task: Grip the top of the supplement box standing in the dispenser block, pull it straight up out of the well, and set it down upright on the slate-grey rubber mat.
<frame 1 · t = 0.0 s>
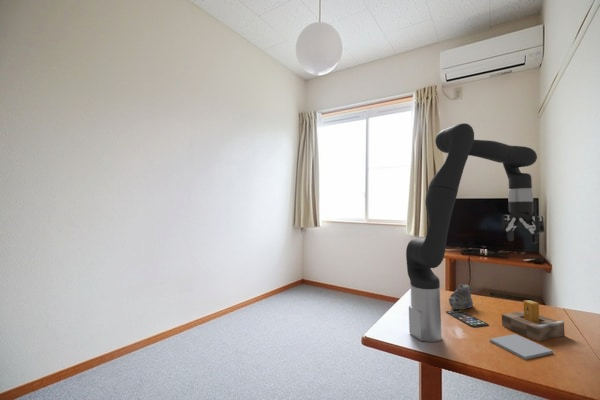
hand: (522, 242, 107), 29 cm above the table, tool pointing down, fingers open, 8 cm apart
mat: (519, 347, 86), on the table
mineral rock: (459, 307, 119), on the table
smartphone: (466, 319, 108), on the table
supplement box: (531, 330, 96), resting in dispenser
dispenser: (531, 330, 96), on the table
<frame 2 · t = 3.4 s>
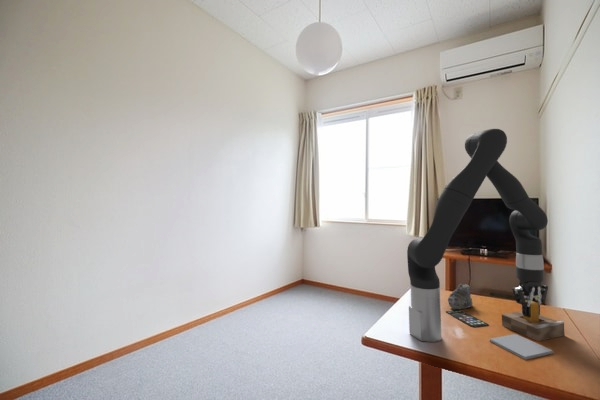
hand: (531, 315, 96), 5 cm above the table, tool pointing down, fingers closed on supplement box, 3 cm apart
supplement box: (531, 330, 96), resting in dispenser, touching gripper
everything else where it was.
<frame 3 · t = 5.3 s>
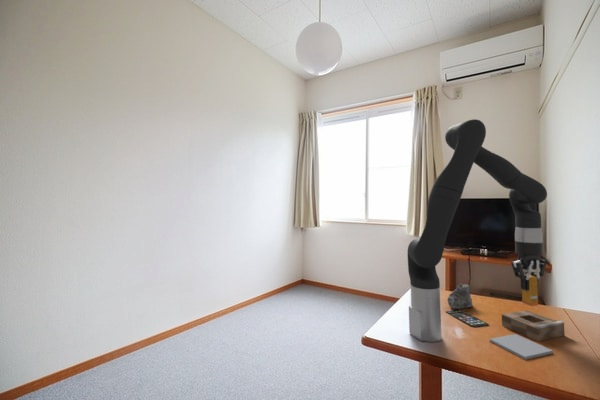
hand: (529, 289, 97), 14 cm above the table, tool pointing down, fingers closed on supplement box, 3 cm apart
supplement box: (530, 304, 97), point 9 cm above the table, touching gripper
everything else where it was.
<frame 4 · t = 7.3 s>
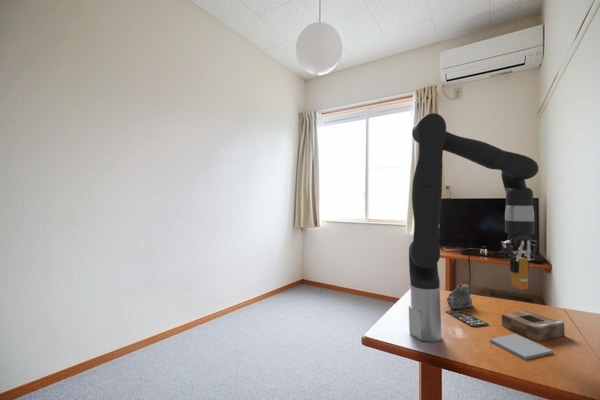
hand: (519, 271, 90), 22 cm above the table, tool pointing down, fingers closed on supplement box, 3 cm apart
supplement box: (520, 288, 90), point 17 cm above the table, touching gripper
everything else where it was.
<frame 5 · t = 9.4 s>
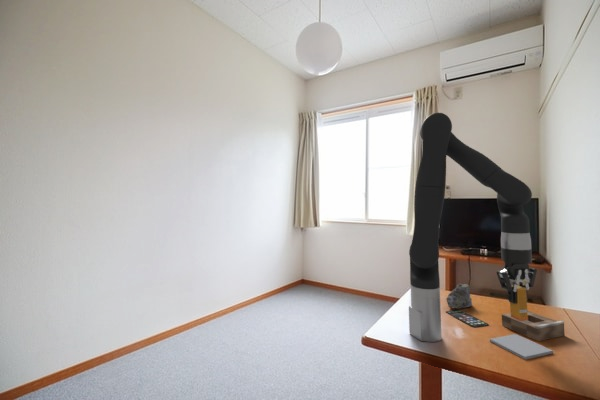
hand: (518, 301, 86), 14 cm above the table, tool pointing down, fingers closed on supplement box, 3 cm apart
supplement box: (519, 319, 86), point 9 cm above the table, touching gripper
everything else where it was.
when the fingers open (8 cm above the table, at t = 11.3 s): supplement box drops 2 cm, resting on mat.
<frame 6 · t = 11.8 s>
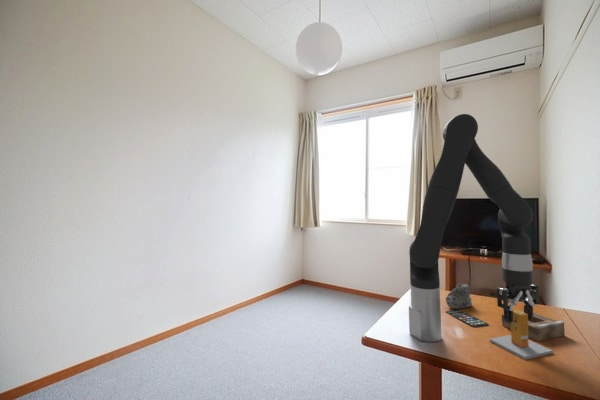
hand: (518, 319, 86), 8 cm above the table, tool pointing down, fingers open, 7 cm apart
supplement box: (520, 345, 86), point 1 cm above the table, touching mat
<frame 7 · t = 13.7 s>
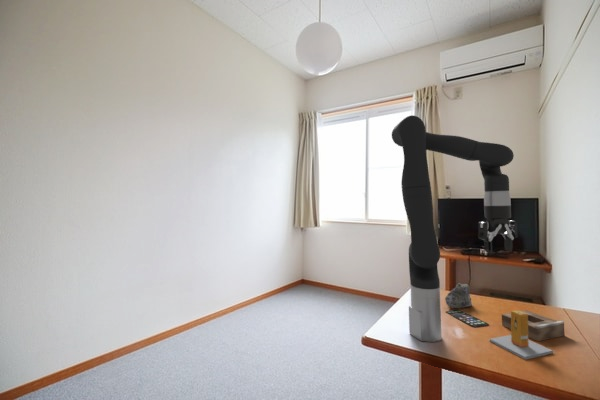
hand: (498, 251, 95), 28 cm above the table, tool pointing down, fingers open, 8 cm apart
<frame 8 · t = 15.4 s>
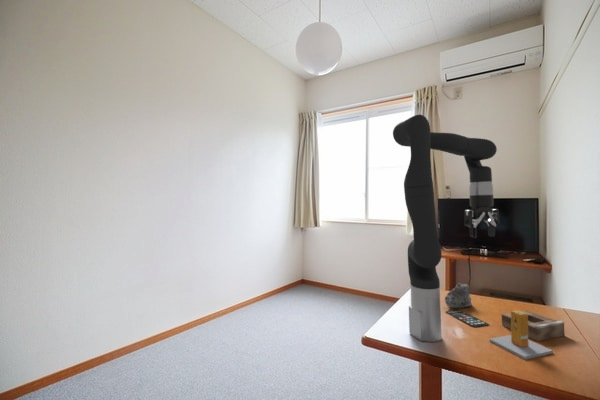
hand: (482, 236, 104), 32 cm above the table, tool pointing down, fingers open, 8 cm apart
at the end: supplement box inside the target area (0.1 cm from its centre), point 0.6 cm above the table; supplement box tilted 0°; the gripper is holding nothing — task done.
